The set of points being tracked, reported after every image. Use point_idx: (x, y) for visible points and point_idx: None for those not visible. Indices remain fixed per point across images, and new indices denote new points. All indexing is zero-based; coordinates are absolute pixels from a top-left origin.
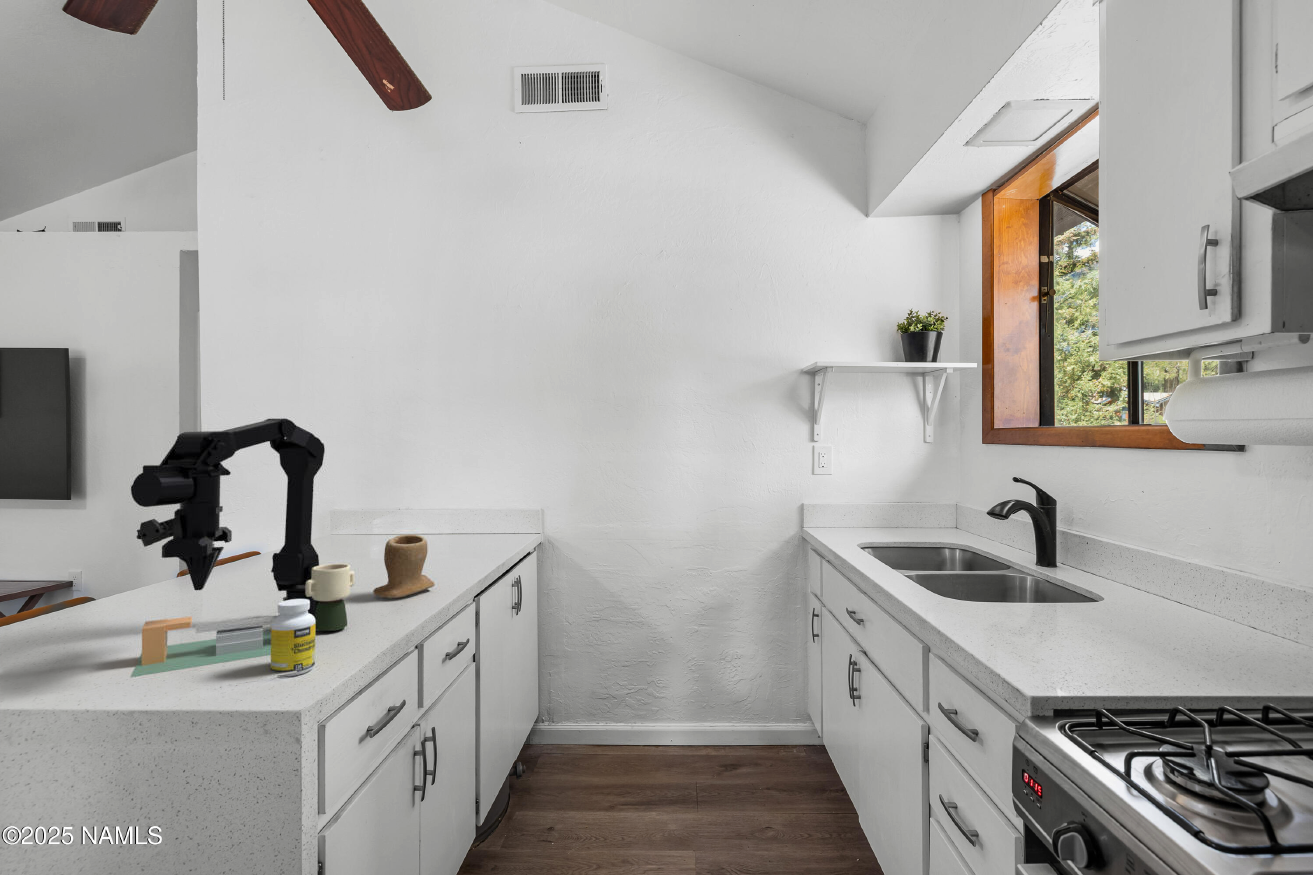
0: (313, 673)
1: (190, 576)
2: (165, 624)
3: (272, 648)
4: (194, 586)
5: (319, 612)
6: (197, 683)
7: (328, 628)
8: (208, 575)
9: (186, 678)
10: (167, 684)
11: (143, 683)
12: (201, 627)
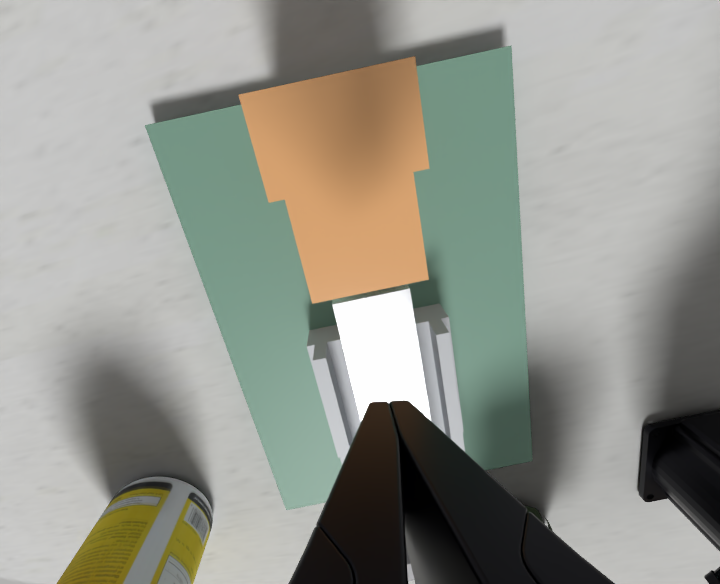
0: None
1: (332, 489)
2: (297, 197)
3: (85, 549)
4: (365, 422)
5: None
6: (115, 325)
7: None
8: (414, 578)
9: (168, 284)
10: (122, 247)
11: (147, 170)
12: (344, 322)
